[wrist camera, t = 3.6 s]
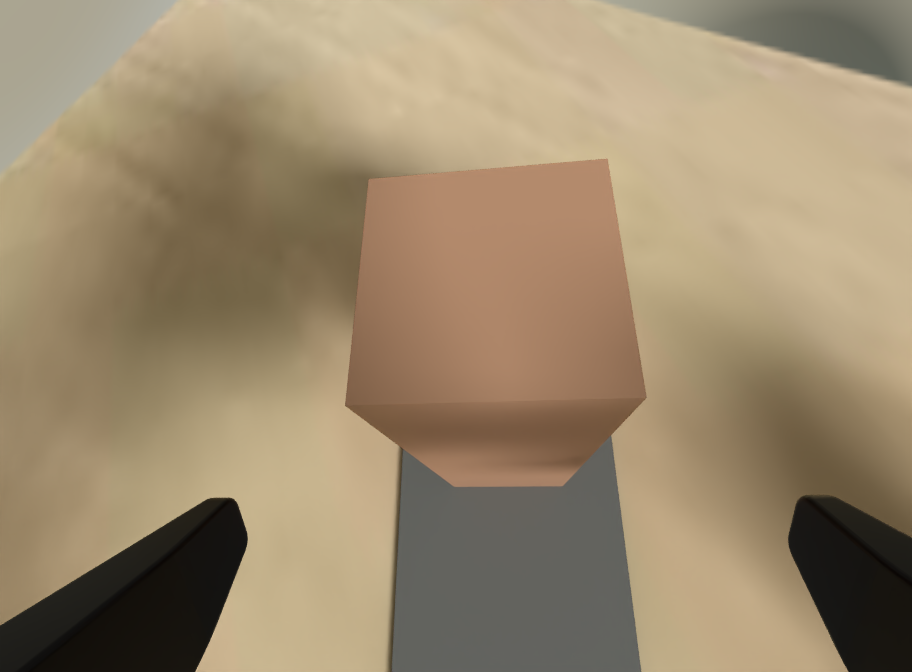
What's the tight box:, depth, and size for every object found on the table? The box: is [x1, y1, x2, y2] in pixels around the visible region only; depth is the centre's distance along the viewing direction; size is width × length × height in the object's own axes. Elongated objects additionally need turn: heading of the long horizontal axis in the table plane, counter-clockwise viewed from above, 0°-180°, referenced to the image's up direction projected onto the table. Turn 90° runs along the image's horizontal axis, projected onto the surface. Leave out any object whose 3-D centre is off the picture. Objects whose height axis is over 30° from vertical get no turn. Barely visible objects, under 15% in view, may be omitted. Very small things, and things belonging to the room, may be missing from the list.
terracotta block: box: [345, 159, 646, 487], centre depth 12 cm, size 4×4×12 cm
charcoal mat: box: [392, 436, 641, 672], centre depth 18 cm, size 20×8×1 cm, turn 0°
